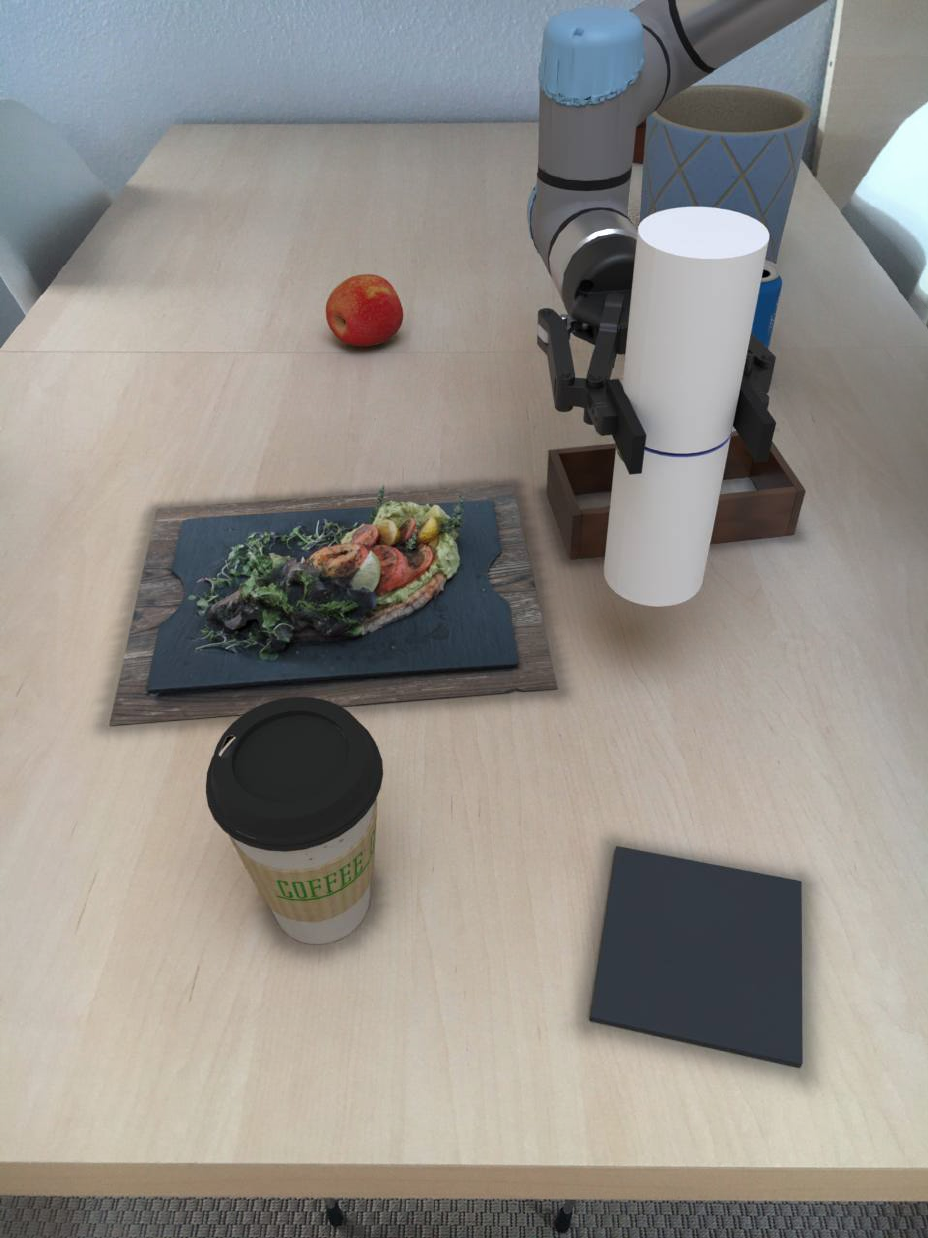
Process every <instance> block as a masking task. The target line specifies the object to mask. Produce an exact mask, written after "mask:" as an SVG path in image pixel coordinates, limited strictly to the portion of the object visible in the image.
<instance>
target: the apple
mask: <svg viewBox="0 0 928 1238" xmlns="http://www.w3.org/2000/svg"><path fill="white" fill-rule="evenodd" d="M325 318H326V319H325V320H326V322H327V325H328V327H329V329H330V330H331V332H332V333H333V335H334V336H335V337H336V338H337V339H339V341H340V342H342V343H344V344H346V345H347V346H351V347H371V346H374V345H380V344H382V343H384V342H385V343H386V342H387V341H388V340H390V339H392V337H393V336H394V335H395V334H397V333H398V331H399V330H400V329H401V327H402V324H403V321H404V307H403V305H402V302H401V299H400V298H399V295H398V293H397V291H396V289H395V288H394V286H393V285H392V284H391V282H390V281H388V279H386V278H384V277H382V276H380V275H378V274H372V273H364V274H357V275H354V276H350V277H349V278H346V279H345V280H343V281H341V282H340V283H338V285H337V286H336V287H335V288H333V290H332V291H331V292H330V294H329V296H328V298H327V301H326V304H325Z"/></svg>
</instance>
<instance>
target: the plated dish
mask: <svg viewBox="0 0 928 1238" xmlns="http://www.w3.org/2000/svg"><path fill="white" fill-rule="evenodd" d="M385 488H386V486H385V485H384V484H383V485H382V487H380V488H379V490H378V493H377V492H376V493H375V492H374V493H360V494H350V495H349V494H345V495H332V496H317V497H315V496H314V497H302V498H288V499H287V498H286V499H273V500H272V499H271V500H257V501H242V502H241V501H240V502H229V503H228V502H227V503H214V504H212V503H211V504H200V505H199V504H197V505H188V506H187V505H184V506H169V507H168V506H167V507H166V506H165V507H157V508H156V511H155V515H154V519H153V524H152V529H151V533H150V536H149V542H148V545H147V551H146V555H145V560H144V563H143V568H142V573H141V578H140V583H139V586H138V587H139V588H138V592H137V595H136V596H137V597H136V601H135V606H134V609H133V615H132V619H131V623H130V630H129V634H128V638H127V643H126V646H125V647H126V648H125V652H124V656H123V660H122V665H121V670H120V674H119V679H118V683H117V689H116V691H115V692H116V693H115V697H114V702H113V706H112V710H111V714H110V720H109V724H108V726H119V725H120V726H121V725H122V726H123V725H133V724H145V723H156V722H157V723H158V722H167V721H168V722H169V721H180V720H181V721H182V720H192V719H204V718H216V717H226V716H227V717H229V716H238V715H240V716H242V715H243V714H245V713H247V712H248V711H250V710H252V709H254V708H255V707H257V706H260V705H262V704H265V703H267V702H270V701H274V700H278V699H282V698H291V697H313V698H318V699H323V700H327V701H329V702H332V703H334V704H337V705H339V706H341V707H346V706H361V705H370V704H382V703H394V702H407V701H419V700H421V701H422V700H433V699H443V698H444V699H445V698H455V697H456V698H457V697H467V696H470V697H471V696H481V695H494V694H503V693H504V694H505V693H510V692H514V691H516V690H518V691H520V692H529V691H541V690H543V691H544V690H556V689H558V684H557V680H556V679H557V678H556V675H555V671H554V665H553V661H552V657H551V652H550V647H549V644H548V638H547V634H546V630H545V624H544V620H543V616H542V611H541V606H540V602H539V597H538V593H537V588H536V584H535V579H534V575H533V571H532V565H531V561H530V557H529V551H528V548H527V543H526V538H525V533H524V529H523V524H522V520H521V516H520V515H521V514H520V511H519V507H518V506H519V505H518V501H517V497H516V493H515V488H514V484H513V483H511V484H497V485H495V484H494V485H478V486H468V487H466V486H465V487H464V486H463V487H450V488H449V487H448V488H435V489H420V490H418V489H417V490H406V491H389V492H385ZM252 620H254V621H252ZM255 620H256V621H255ZM247 621H252V623H253V624H251V625H249V626H248V627H247V628H245V629H242V630H240V632H239V631H238V630H239V629H241V628H243V627H245V626H246V624H247Z"/></svg>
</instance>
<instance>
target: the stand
mask: <svg viewBox="0 0 928 1238" xmlns="http://www.w3.org/2000/svg"><path fill="white" fill-rule="evenodd" d="M547 451H548V452H547V453H548V454H547V473H546V493H545V494H546V497H547V498H548V502H549V505H550V507H551V510H552V512H553V515H554V519H555V522H556V525H557V527H558V530H559V533H560V536H561V539H562V542H563V545H564V547H565V550H566V552H567V555H568V559H569V560H578V559H586V558H597V557H605V552H606V542H607V532H608V523H609V513H610V505H607V506H597V507H588V508H581V509H580V506H579V504H578V501H577V499H576V496H578V495H588V494H596V493H607V492H612V483H613V473H614V464H615V454H616V443H615V442H613V443H604V444H593V445H583V446H574V447H563V448H555V449H554V448H553V449H548V450H547ZM738 478H739V479H740V478H750V479H751V481H752V483H753V484H754V485H755V487H756V489H757V490H748V491H747V490H745V491H736V492H727V493H720V495H719V500H718V506H717V511H716V516H715V521H714V526H713V531H712V537H711V542H710V545H715V544H724V543H731V542H739V541H751V540H759V539H760V540H761V539H767V538H768V539H769V538H777V537H786V536H793V535H795V533H796V529H797V526H798V521H799V517H800V514H801V510H802V506H803V503H804V499H805V495H806V492H807V491H806V489H805V487H804V486H803V484H802V483H801V481H800V479H799V478H798V477H797V474H795V472H794V471H793V469H792V467H791V466H790V464H789V463H788V462H787V460H786V459H785V458H784V456H783V455H782V453H781V452H780V450H779V449H778V447H777V446H776V444H775V443H774V441H773V440H772V444H771V448H770V453H769V457H768V461H764V462H755V460H754V459H753V457H752V456H751V454H750V452H749V451H748V449H747V448H746V446H745V444H744V443H743V441H742V439H741V438H740V436H739V435H738V433H737V431H736V430H734V431H733V430H732V432H731V438H730V443H729V448H728V453H727V459H726V464H725V469H724V474H723V480H730V479H731V480H732V479H738Z"/></svg>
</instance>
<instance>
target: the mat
mask: <svg viewBox="0 0 928 1238" xmlns="http://www.w3.org/2000/svg"><path fill="white" fill-rule="evenodd" d="M802 884H803V883H802V880H798V879H792V878H787V877H781V876H776V875H772V874H767V873H760V872H756V871H750V870H746V869H741V868H735V867H729V866H725V865H719V864H714V863H708V862H704V861H698V860H692V859H687V858H682V857H678V856H671V855H666V854H661V853H655V852H650V851H645V850H640V849H634V848H630V847H625V846H619V845H616V846H615V850H614V857H613V864H612V869H611V877H610V882H609V889H608V890H609V891H608V896H607V903H606V910H605V915H604V916H605V917H604V922H603V929H602V934H601V935H602V936H601V942H600V949H599V955H598V962H597V968H596V969H597V970H596V974H595V982H594V989H593V993H592V994H593V995H592V1001H591V1006H590V1015H589V1021H590V1022H593V1023H597V1024H602V1025H607V1026H611V1027H616V1028H619V1029H623V1030H624V1029H625V1030H630V1031H634V1032H637V1033H642V1034H647V1035H651V1036H656V1037H661V1038H664V1039H669V1040H674V1041H678V1042H683V1043H686V1044H687V1043H688V1044H692V1045H696V1046H700V1047H705V1048H709V1049H713V1050H718V1051H723V1052H727V1053H731V1054H736V1055H741V1056H745V1057H750V1058H754V1059H759V1060H763V1061H767V1062H772V1063H777V1064H781V1065H785V1066H789V1067H795V1068H798V1069H800V1068H801V1067H802V1066H803V1062H804V1060H803V1059H804V1058H803V1054H804V1053H803V1050H804V1049H803V1047H804V1046H803V1045H804V1044H803V899H802V897H803V896H802V895H803V894H802V893H803V892H802V891H803V889H802V887H803V885H802Z"/></svg>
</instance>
